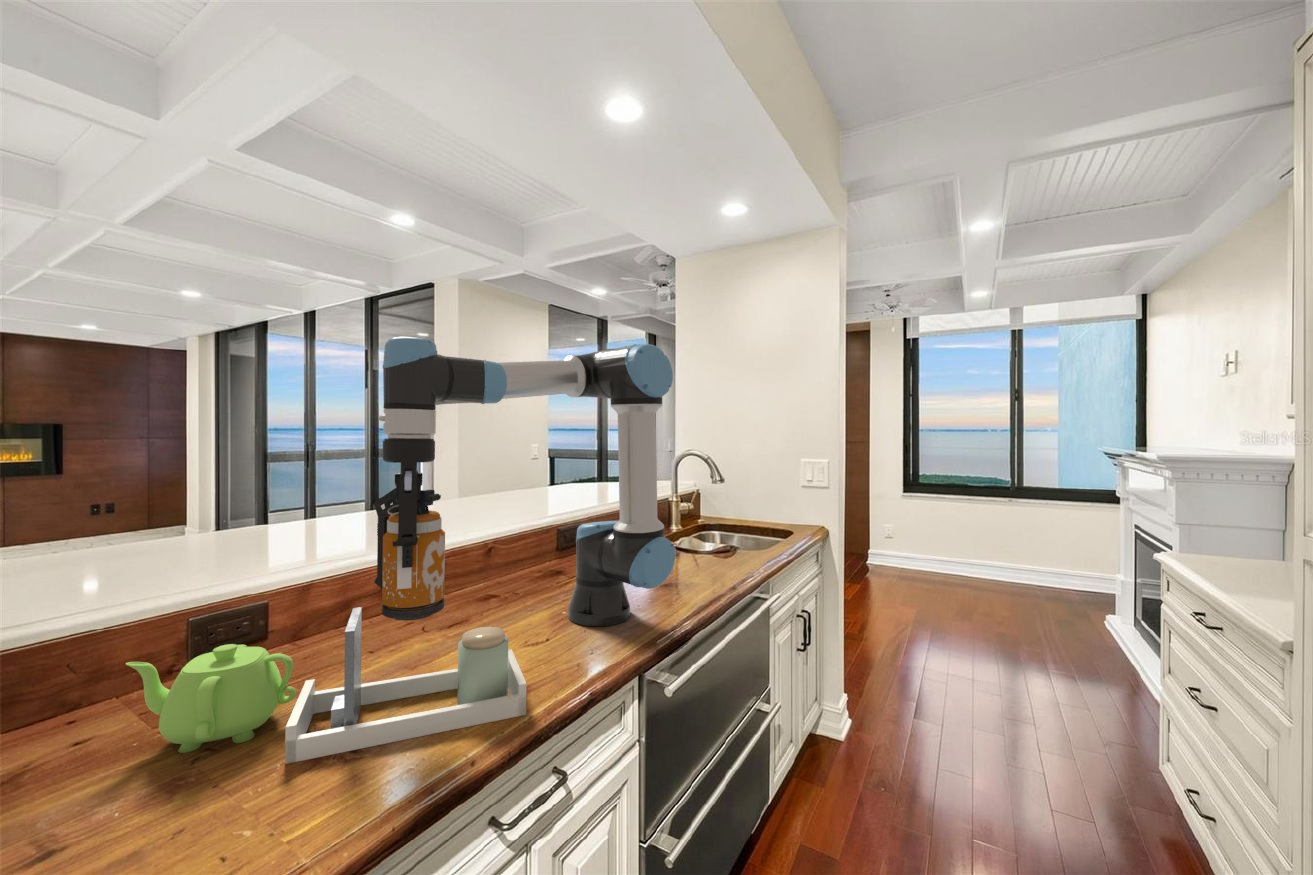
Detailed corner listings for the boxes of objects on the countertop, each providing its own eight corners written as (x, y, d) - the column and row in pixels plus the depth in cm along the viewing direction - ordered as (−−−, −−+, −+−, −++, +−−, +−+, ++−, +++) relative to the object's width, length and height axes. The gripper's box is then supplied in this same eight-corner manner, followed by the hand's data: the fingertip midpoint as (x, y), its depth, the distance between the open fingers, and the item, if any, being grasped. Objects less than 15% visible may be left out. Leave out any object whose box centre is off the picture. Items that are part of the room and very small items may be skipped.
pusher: (360, 705, 86) (361, 607, 86) (353, 741, 76) (354, 630, 76) (337, 709, 84) (338, 609, 84) (327, 746, 75) (328, 633, 74)
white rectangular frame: (511, 676, 97) (511, 649, 97) (526, 714, 84) (526, 683, 84) (305, 711, 84) (305, 680, 84) (285, 764, 71) (285, 727, 71)
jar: (503, 685, 94) (504, 623, 94) (511, 707, 86) (512, 639, 86) (455, 694, 90) (456, 629, 90) (459, 717, 83) (460, 647, 83)
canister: (421, 626, 79) (422, 491, 78) (356, 619, 81) (357, 489, 81) (455, 606, 87) (456, 486, 87) (396, 601, 90) (397, 483, 89)
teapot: (171, 781, 67) (171, 683, 67) (124, 748, 74) (124, 659, 74) (304, 720, 82) (305, 639, 82) (255, 697, 88) (255, 622, 88)
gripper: (386, 435, 92) (385, 566, 92) (377, 437, 72) (375, 602, 73) (433, 436, 95) (432, 562, 95) (436, 438, 75) (434, 596, 76)
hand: (407, 579), depth 84 cm, fingers closed on canister, 8 cm apart
